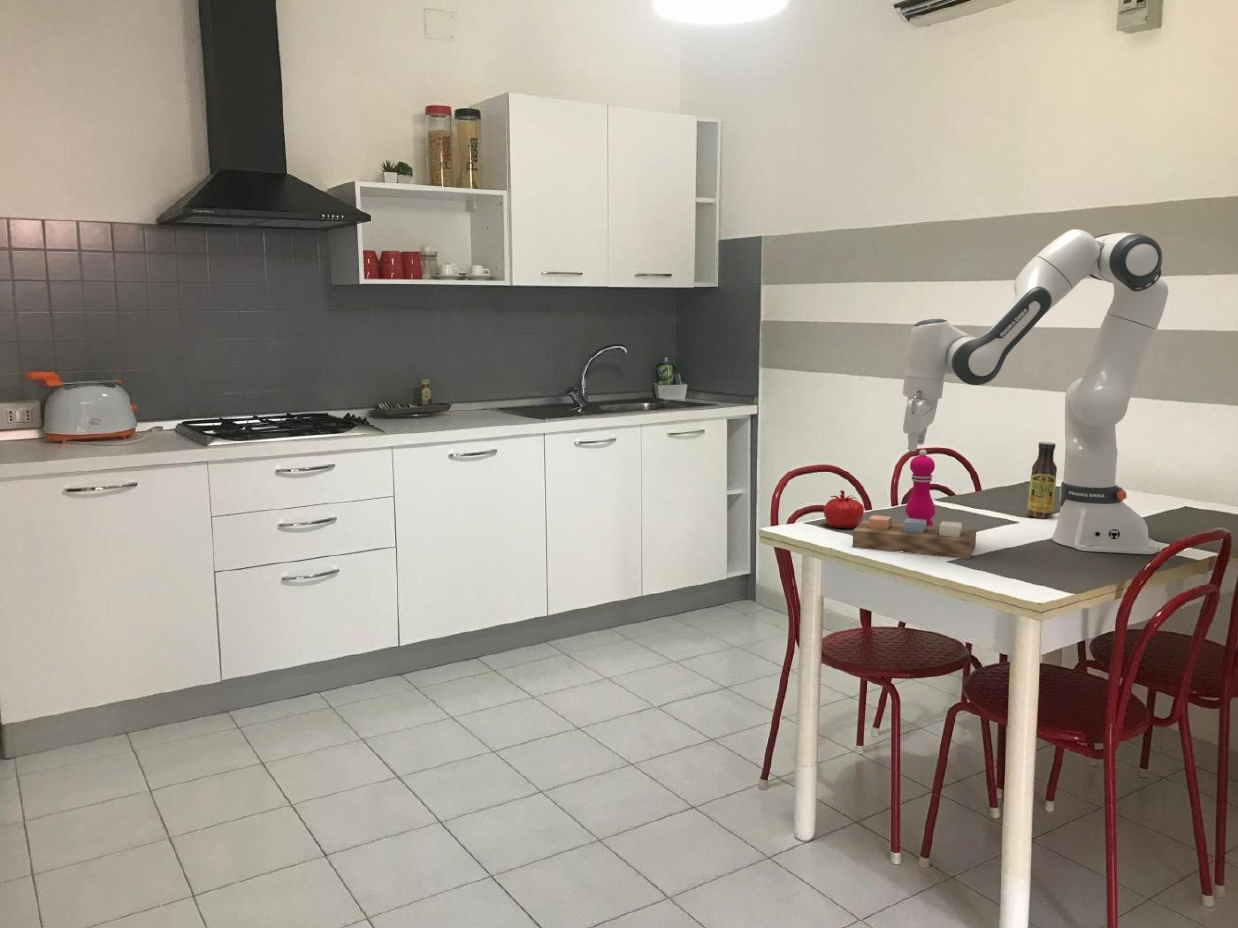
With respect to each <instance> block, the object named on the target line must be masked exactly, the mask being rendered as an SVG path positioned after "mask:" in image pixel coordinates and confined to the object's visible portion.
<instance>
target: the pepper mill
mask: <svg viewBox="0 0 1238 928" xmlns="http://www.w3.org/2000/svg"><path fill="white" fill-rule="evenodd" d="M918 453H919V455H917V456H914V457H913V458H912V459H911V461H910V462H909V469H910V471H911V472H912V474H911V481H912V483H913V485H912V491H911V495H910V497H909V499H908V501H907V502H906V506H905V514H906V515H907V518H911V519H922V520H926V526H934V525H933V524H934V523H933V521H932V520H931V519H932V518H933V517H935V514H936V507H935V502H934V501H933V499H932V496H931V491H930V487H931V482H932V481H933V474H932V473H933V472H934V471H935V468H936V463H935V461H934V460H933V458H931V456H927V455H928V454H927V453H928V452H927V449H926V450H925V449H921V450H919V452H918Z"/></svg>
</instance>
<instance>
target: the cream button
mask: <svg viewBox="0 0 1238 928" xmlns="http://www.w3.org/2000/svg"><path fill="white" fill-rule="evenodd" d="M939 527H940V528H939V535H943V536H953V537H961V536H962V529H963V522H955V521H944V520H942V521H941V522H940V524H939Z"/></svg>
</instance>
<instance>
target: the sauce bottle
mask: <svg viewBox="0 0 1238 928" xmlns="http://www.w3.org/2000/svg"><path fill="white" fill-rule="evenodd" d="M1037 447H1038V456H1037V458H1036V459H1035V461H1034V463H1033V465H1032V466H1031V467H1032V468H1031V476H1030V481H1029V482H1030V483H1029V491H1028V498H1027V499H1028V500H1027V507H1026V508H1027V512H1026V513H1027V515H1028V516H1029V517H1032V518H1035V519H1049V518H1052V515H1053V510H1054V500H1055V492H1056V484H1057V483H1056V482H1057V471H1058V467H1057V465H1056V463H1055V461H1054V454H1055V449H1056V443H1055V442H1049V441H1039V442H1038V446H1037Z"/></svg>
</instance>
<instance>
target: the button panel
mask: <svg viewBox="0 0 1238 928" xmlns="http://www.w3.org/2000/svg"><path fill="white" fill-rule="evenodd" d="M862 520H863V521H861V522H860V523H859V524H858V525H857V526H855V527H854V529H852V548H856V547H859V548H858V549H868V550H878V551H885V552H886V551H887V552H896V551H903V552H902V553H905V552H911V553H910V554H915V553H920V554H919V555H925V554H926V555H928V556H937V557H944V558H945V557H946V558H955V559H964V560H965V559H968V560H970V558H971V557H972V555H973V552H974V551H975V549H976V543H977V542H976V541H977V529H965V528H962V536H961V537H953V536H943V535H939V528H940V526H934V525H933V526H926V532H925V534H921V533H911V532H903V528H904V523H900V522H891V529H890V530H879V529H869V519H868V520H866V519H862Z"/></svg>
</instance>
